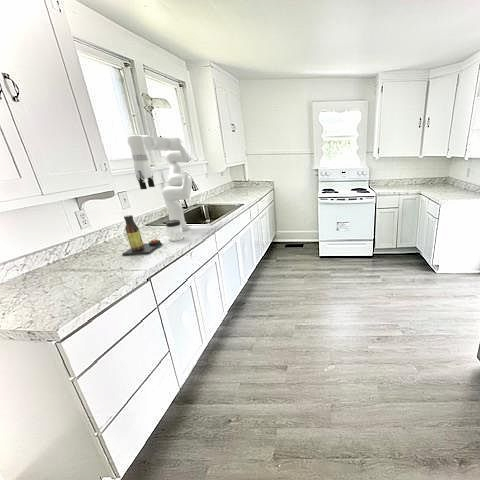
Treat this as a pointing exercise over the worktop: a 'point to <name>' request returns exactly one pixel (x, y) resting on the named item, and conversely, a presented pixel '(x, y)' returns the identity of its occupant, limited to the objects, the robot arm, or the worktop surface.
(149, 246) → the scale
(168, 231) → the jar
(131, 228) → the sauce bottle
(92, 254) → the worktop surface
